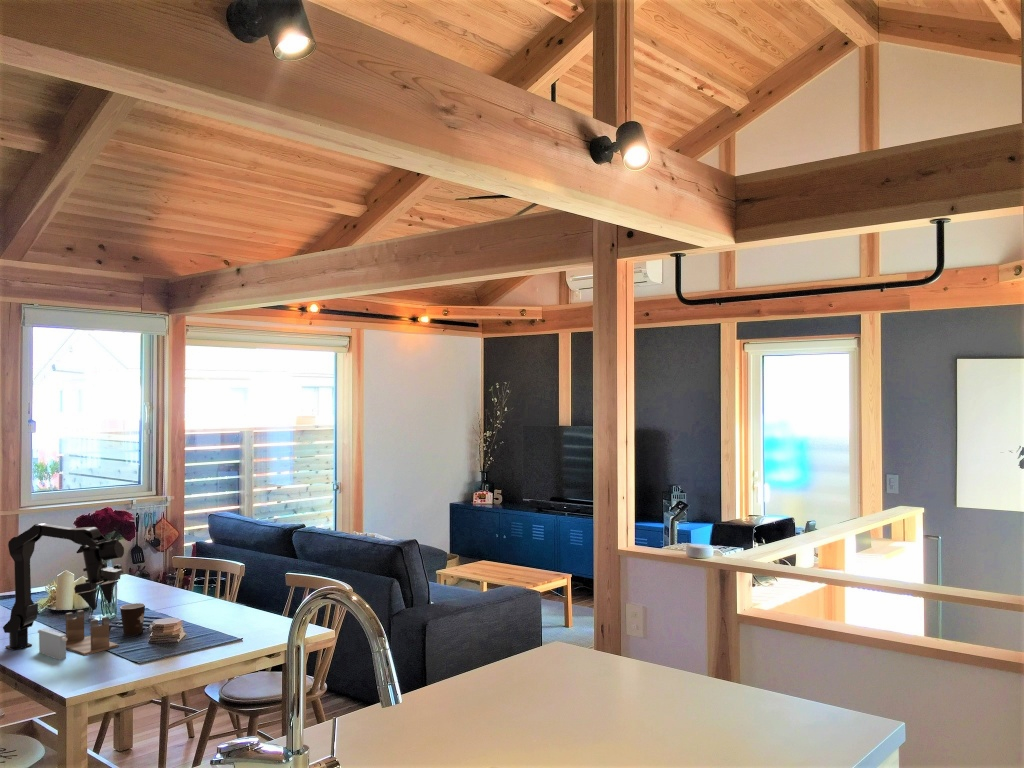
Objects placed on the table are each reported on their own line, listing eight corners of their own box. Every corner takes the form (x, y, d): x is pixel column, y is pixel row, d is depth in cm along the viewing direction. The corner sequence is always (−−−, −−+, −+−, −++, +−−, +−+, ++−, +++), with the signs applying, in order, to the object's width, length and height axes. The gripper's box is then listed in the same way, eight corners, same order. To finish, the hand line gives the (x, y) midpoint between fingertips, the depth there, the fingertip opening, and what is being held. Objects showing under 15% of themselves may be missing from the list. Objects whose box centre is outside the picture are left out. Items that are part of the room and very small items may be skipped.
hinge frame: (56, 646, 297) (56, 615, 298) (90, 637, 307) (89, 608, 307) (84, 655, 285) (84, 623, 286) (118, 646, 295) (118, 615, 295)
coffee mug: (129, 637, 307) (129, 609, 307) (115, 634, 311) (115, 607, 312) (157, 629, 317) (157, 603, 317) (143, 626, 321) (143, 600, 322)
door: (36, 651, 291) (36, 629, 292) (42, 650, 293) (42, 627, 293) (62, 661, 280) (62, 637, 280) (68, 659, 282) (68, 635, 282)
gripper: (99, 564, 286) (108, 609, 285) (129, 553, 304) (137, 595, 304) (69, 570, 287) (78, 614, 286) (101, 559, 305) (109, 601, 305)
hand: (102, 606), depth 295 cm, fingers open, 9 cm apart
